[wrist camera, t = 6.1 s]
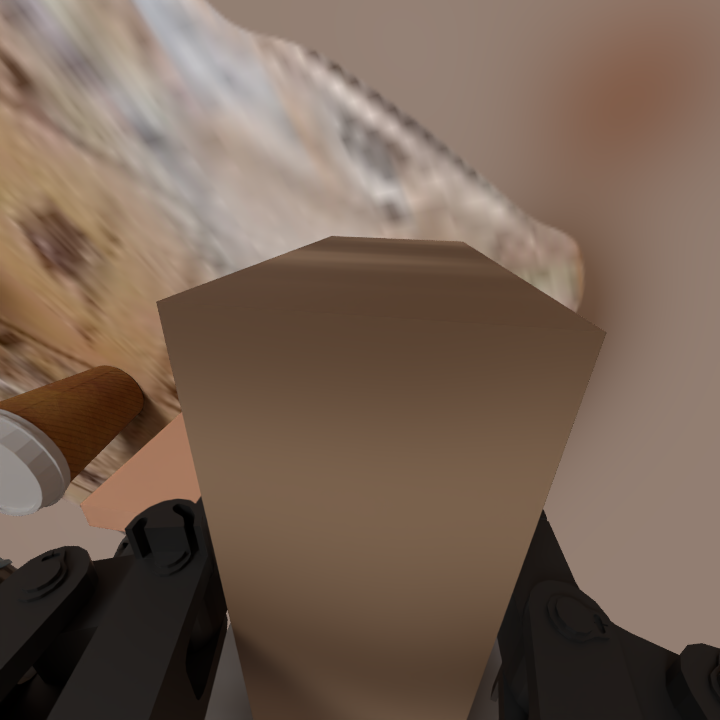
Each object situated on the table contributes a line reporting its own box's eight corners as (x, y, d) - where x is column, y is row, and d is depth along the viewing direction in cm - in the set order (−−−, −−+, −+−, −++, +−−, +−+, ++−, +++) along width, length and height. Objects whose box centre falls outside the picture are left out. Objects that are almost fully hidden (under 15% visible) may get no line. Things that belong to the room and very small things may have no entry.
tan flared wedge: (473, 549, 15) (531, 856, 8) (282, 522, 16) (181, 776, 9) (551, 245, 10) (966, 357, 2) (254, 232, 11) (-67, 287, 3)
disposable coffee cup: (140, 350, 33) (7, 421, 22) (170, 430, 37) (69, 524, 26) (58, 351, 34) (-106, 418, 23) (94, 427, 38) (-31, 516, 27)
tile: (319, 422, 33) (263, 554, 21) (206, 410, 35) (90, 527, 22) (318, 404, 32) (260, 531, 20) (203, 392, 34) (79, 504, 21)
